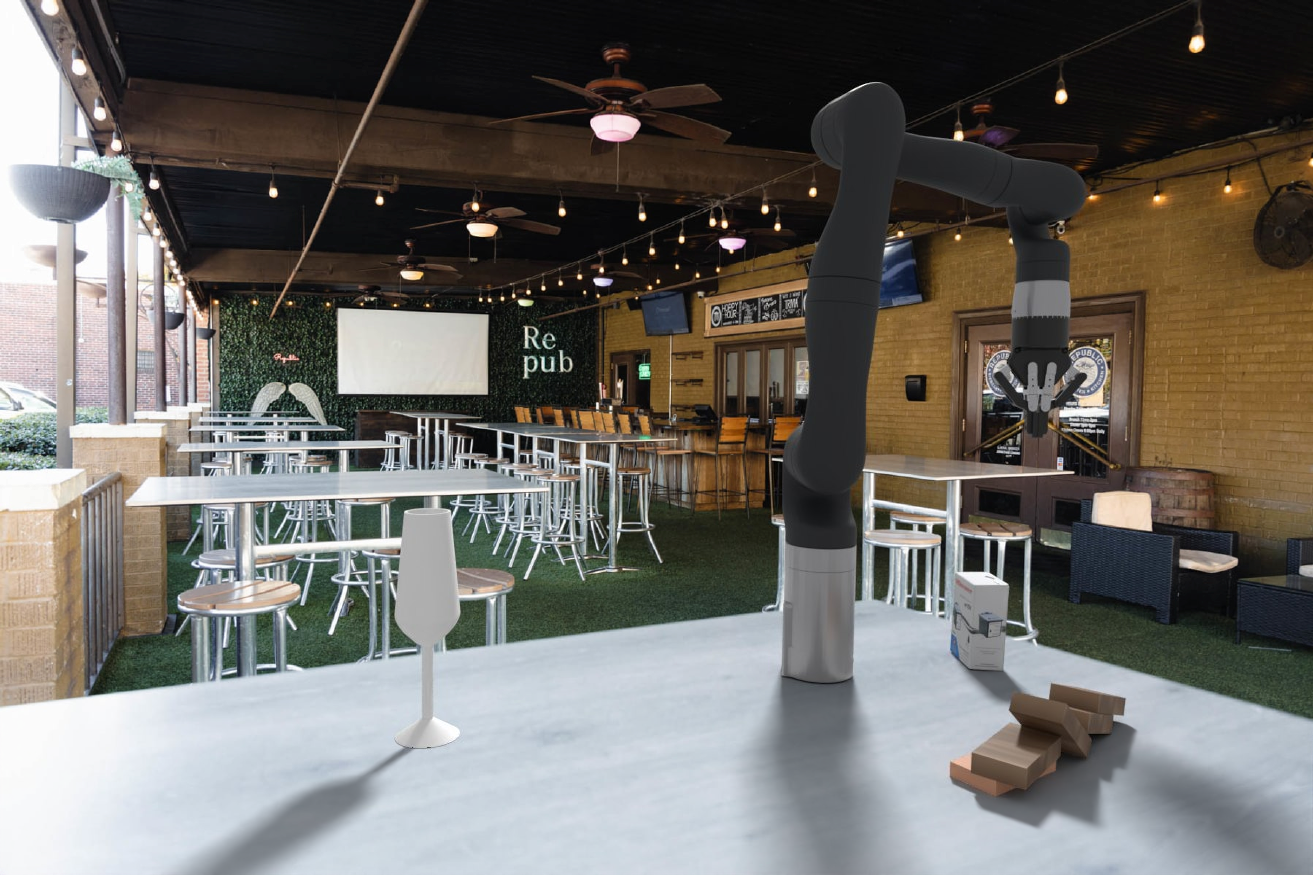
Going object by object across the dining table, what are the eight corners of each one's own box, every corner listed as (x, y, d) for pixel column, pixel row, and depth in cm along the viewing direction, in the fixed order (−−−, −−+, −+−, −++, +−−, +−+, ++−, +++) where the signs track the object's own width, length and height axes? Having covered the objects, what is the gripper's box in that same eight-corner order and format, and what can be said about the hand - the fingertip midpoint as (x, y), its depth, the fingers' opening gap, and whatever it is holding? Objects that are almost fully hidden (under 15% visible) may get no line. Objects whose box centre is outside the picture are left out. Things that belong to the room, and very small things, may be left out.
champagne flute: (428, 718, 96) (428, 505, 94) (473, 731, 92) (473, 510, 91) (380, 738, 90) (380, 512, 89) (427, 753, 87) (426, 518, 85)
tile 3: (1041, 727, 92) (1013, 691, 86) (1092, 739, 88) (1066, 703, 82) (1037, 744, 91) (1008, 710, 85) (1087, 758, 87) (1061, 723, 81)
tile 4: (1010, 722, 88) (971, 752, 81) (1061, 736, 85) (1026, 768, 77) (1009, 741, 88) (970, 772, 81) (1060, 755, 85) (1025, 790, 78)
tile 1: (1079, 687, 102) (1050, 682, 95) (1125, 698, 98) (1099, 694, 91) (1077, 704, 101) (1048, 701, 94) (1123, 715, 98) (1097, 713, 91)
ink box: (949, 651, 124) (951, 570, 123) (984, 651, 124) (987, 571, 123) (969, 670, 115) (972, 584, 115) (1007, 671, 115) (1010, 584, 114)
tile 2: (1065, 703, 98) (1038, 701, 91) (1113, 714, 95) (1089, 713, 88) (1063, 721, 98) (1036, 720, 91) (1111, 733, 95) (1087, 733, 87)
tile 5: (1010, 738, 89) (950, 761, 83) (1056, 755, 85) (996, 781, 79) (1009, 757, 89) (949, 781, 83) (1055, 775, 85) (995, 802, 79)
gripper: (996, 313, 119) (992, 438, 120) (1099, 313, 116) (1094, 440, 117) (986, 318, 126) (981, 435, 127) (1082, 317, 124) (1077, 437, 125)
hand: (1035, 437), depth 122 cm, fingers closed
